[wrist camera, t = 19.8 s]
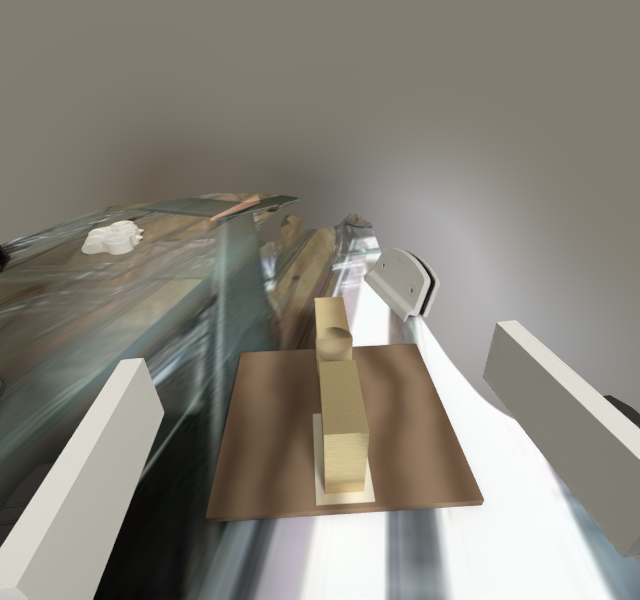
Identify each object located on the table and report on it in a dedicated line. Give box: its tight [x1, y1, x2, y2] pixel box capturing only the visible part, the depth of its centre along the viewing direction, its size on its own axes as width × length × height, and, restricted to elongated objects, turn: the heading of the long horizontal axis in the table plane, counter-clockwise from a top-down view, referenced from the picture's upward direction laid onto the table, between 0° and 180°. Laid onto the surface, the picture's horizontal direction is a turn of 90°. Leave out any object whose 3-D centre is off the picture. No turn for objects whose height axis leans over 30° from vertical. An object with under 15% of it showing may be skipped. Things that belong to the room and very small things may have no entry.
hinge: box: [365, 248, 440, 321], centre depth 66 cm, size 17×5×10 cm, turn 20°
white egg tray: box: [81, 221, 144, 255], centre depth 93 cm, size 3×18×15 cm
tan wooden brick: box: [319, 360, 369, 494], centre depth 36 cm, size 4×9×10 cm, turn 3°
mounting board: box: [205, 297, 484, 523], centre depth 41 cm, size 28×24×11 cm
